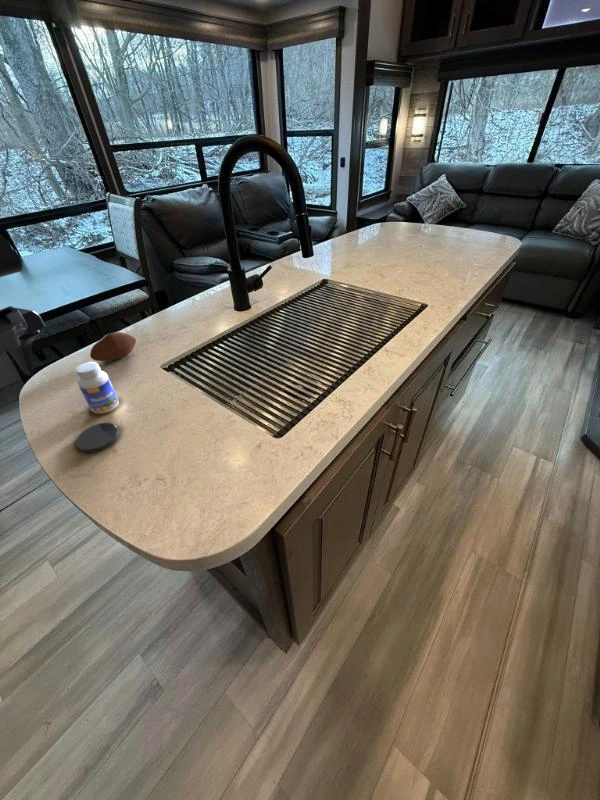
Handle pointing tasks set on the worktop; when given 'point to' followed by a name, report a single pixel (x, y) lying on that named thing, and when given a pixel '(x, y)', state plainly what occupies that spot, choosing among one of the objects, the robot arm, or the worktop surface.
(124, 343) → the potato
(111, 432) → the coaster
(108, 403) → the pill bottle
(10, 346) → the robot arm
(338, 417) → the worktop surface
